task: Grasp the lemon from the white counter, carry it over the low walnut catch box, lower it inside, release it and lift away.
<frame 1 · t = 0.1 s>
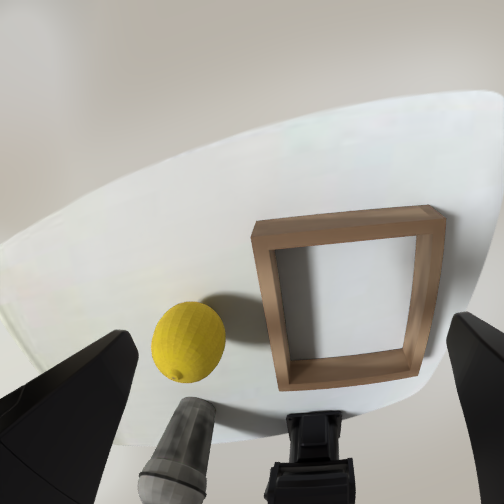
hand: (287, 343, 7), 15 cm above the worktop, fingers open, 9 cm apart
catch box: (349, 300, 23), on the worktop
beverage cup: (198, 406, 33), on the worktop
lemon: (203, 309, 26), on the worktop
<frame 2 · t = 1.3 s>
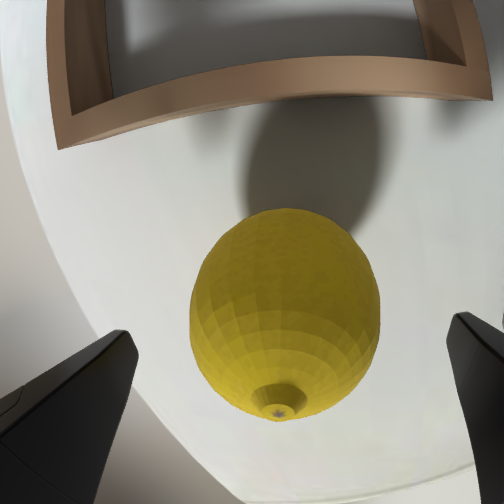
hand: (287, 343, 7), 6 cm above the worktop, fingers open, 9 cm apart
lemon: (289, 246, 13), on the worktop
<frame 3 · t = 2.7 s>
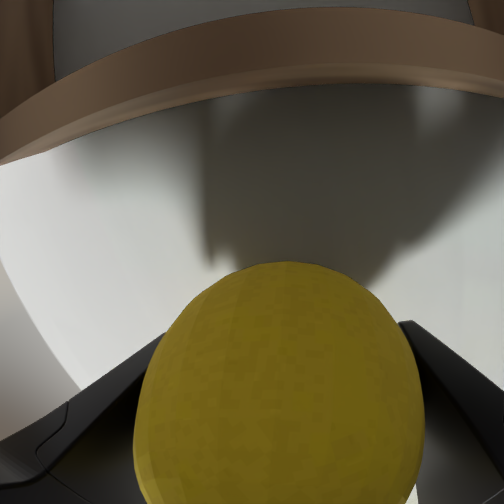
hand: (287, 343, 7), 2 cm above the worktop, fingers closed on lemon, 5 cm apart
lemon: (289, 295, 9), on the worktop, touching gripper
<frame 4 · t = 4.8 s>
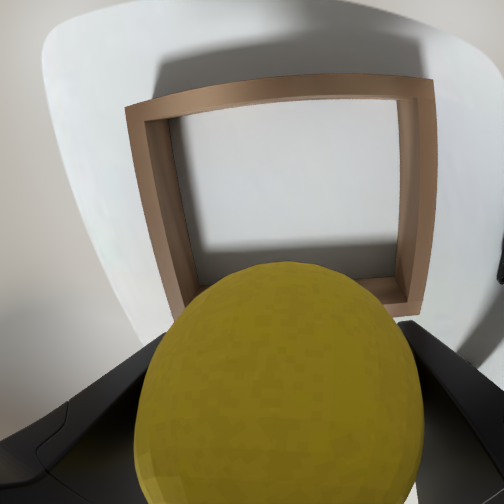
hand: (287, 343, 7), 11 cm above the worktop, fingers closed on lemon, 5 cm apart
catch box: (290, 198, 17), on the worktop
lemon: (289, 295, 9), point 9 cm above the worktop, touching gripper
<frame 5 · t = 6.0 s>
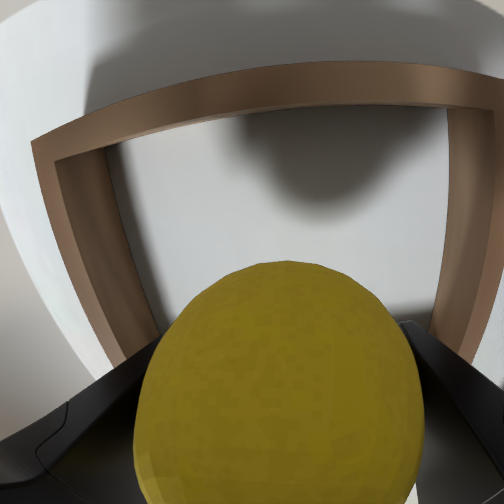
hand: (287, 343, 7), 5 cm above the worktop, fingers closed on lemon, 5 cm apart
catch box: (287, 261, 11), on the worktop
lemon: (289, 295, 9), point 2 cm above the worktop, touching gripper
when the fingers open (3 cm above the worktop, at t = 7.1 s): lemon drops 1 cm, resting in catch box.
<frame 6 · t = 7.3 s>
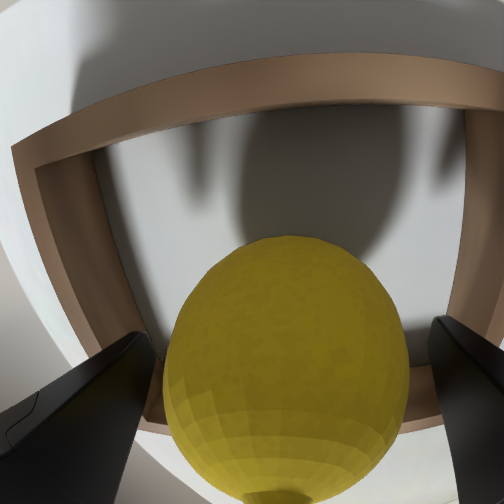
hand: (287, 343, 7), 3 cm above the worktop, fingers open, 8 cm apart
catch box: (289, 275, 10), on the worktop
lemon: (291, 273, 11), resting in catch box
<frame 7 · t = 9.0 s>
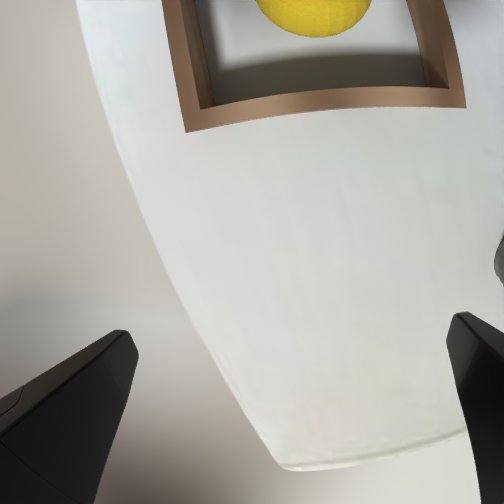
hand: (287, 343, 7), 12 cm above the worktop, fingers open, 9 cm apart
catch box: (307, 10, 13), on the worktop
lemon: (308, 12, 13), resting in catch box
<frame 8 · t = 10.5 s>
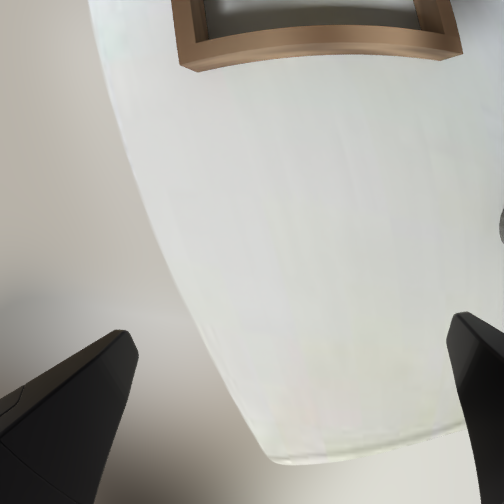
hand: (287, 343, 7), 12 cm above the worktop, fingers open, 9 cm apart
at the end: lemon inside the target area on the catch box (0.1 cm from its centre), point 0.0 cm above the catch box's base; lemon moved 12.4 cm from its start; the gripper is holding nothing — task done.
